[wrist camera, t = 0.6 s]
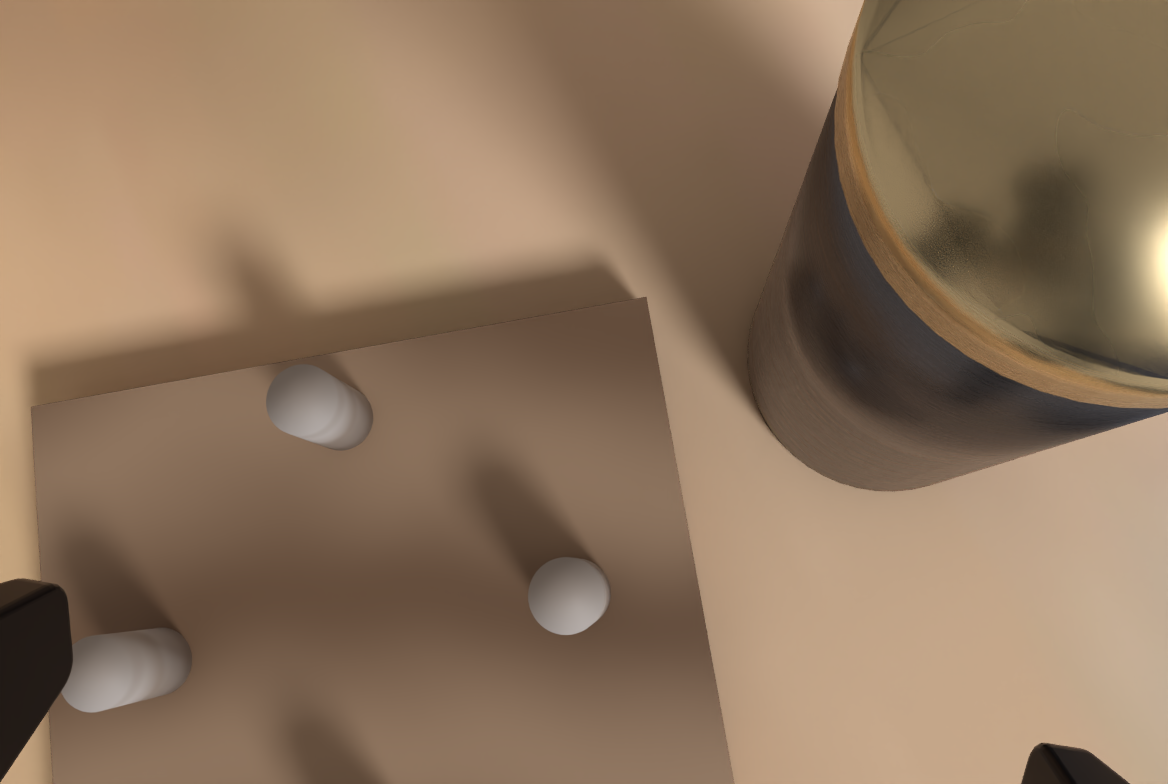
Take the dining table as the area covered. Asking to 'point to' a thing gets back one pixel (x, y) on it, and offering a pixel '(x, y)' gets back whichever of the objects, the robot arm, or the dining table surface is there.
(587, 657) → the peg board
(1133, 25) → the tea tin
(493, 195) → the dining table surface
